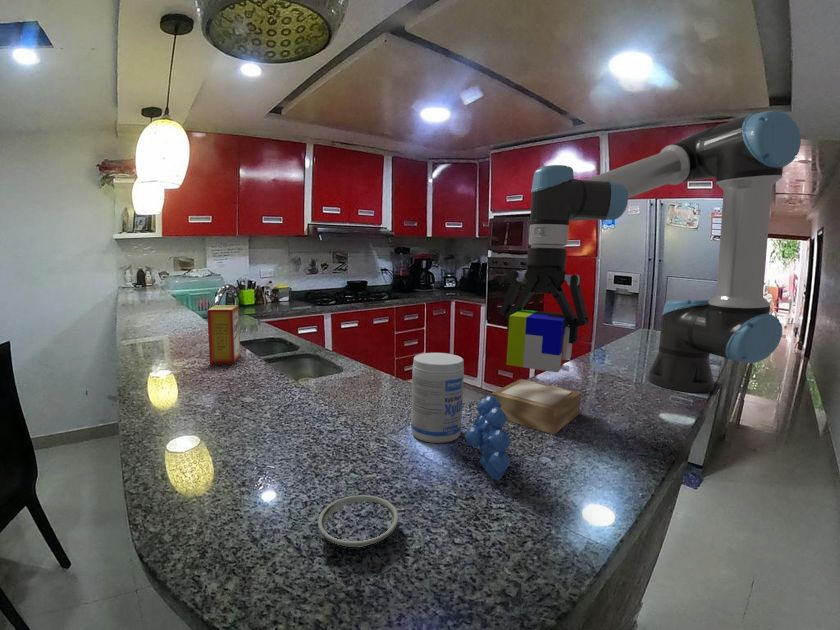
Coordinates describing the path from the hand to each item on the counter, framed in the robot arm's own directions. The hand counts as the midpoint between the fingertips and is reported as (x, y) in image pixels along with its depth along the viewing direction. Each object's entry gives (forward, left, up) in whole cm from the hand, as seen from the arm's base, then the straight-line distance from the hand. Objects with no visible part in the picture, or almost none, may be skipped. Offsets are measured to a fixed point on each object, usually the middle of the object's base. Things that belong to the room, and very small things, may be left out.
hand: (539, 353), depth 90 cm
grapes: (-4, +28, -14) cm, 31 cm away
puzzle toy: (0, +2, -2) cm, 3 cm away
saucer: (0, +51, -14) cm, 53 cm away
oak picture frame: (0, 0, -13) cm, 13 cm away
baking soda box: (+88, +23, -14) cm, 92 cm away
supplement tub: (+10, +22, -14) cm, 28 cm away
